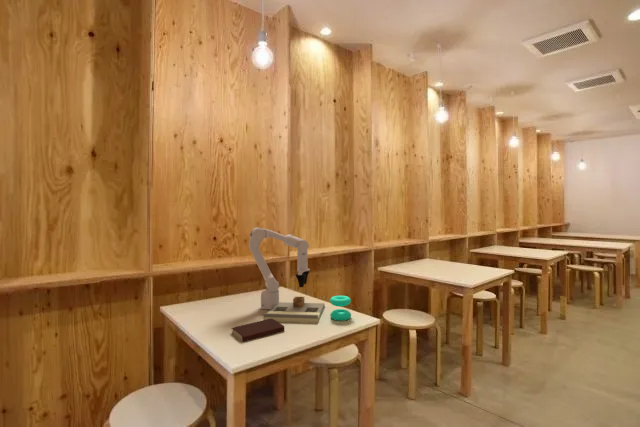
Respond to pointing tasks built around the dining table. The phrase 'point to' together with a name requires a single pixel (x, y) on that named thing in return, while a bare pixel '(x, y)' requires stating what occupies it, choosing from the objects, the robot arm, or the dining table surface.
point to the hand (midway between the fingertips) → (302, 285)
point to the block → (298, 302)
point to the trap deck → (295, 312)
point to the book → (257, 329)
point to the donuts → (340, 313)
